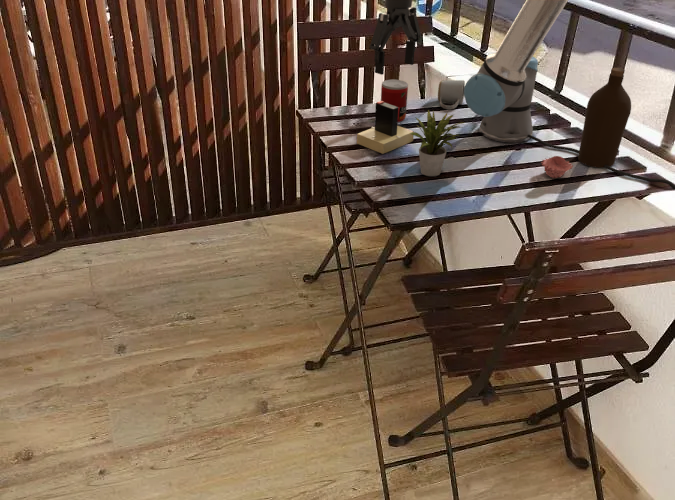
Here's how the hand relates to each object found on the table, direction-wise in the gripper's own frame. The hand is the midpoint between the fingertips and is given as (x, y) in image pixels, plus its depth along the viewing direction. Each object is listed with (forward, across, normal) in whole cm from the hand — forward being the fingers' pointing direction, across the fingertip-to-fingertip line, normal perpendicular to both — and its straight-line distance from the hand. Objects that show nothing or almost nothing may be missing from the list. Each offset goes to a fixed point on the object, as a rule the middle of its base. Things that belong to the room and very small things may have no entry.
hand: (394, 68), depth 190 cm
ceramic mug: (+16, +25, -4) cm, 31 cm away
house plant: (+16, -21, -31) cm, 41 cm away
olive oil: (+16, +18, -58) cm, 63 cm away
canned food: (+16, +2, +1) cm, 17 cm away
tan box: (+16, -14, -9) cm, 23 cm away
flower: (+16, +1, -55) cm, 57 cm away
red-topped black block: (+13, -14, -9) cm, 21 cm away
